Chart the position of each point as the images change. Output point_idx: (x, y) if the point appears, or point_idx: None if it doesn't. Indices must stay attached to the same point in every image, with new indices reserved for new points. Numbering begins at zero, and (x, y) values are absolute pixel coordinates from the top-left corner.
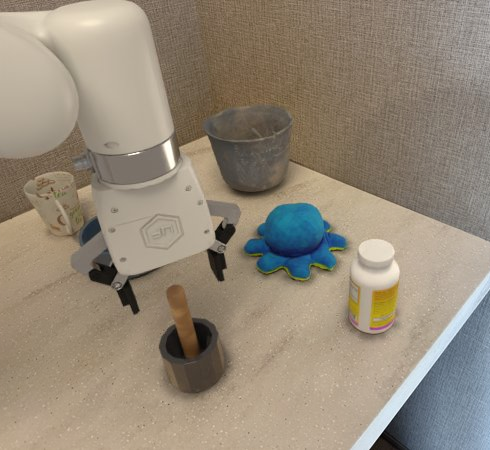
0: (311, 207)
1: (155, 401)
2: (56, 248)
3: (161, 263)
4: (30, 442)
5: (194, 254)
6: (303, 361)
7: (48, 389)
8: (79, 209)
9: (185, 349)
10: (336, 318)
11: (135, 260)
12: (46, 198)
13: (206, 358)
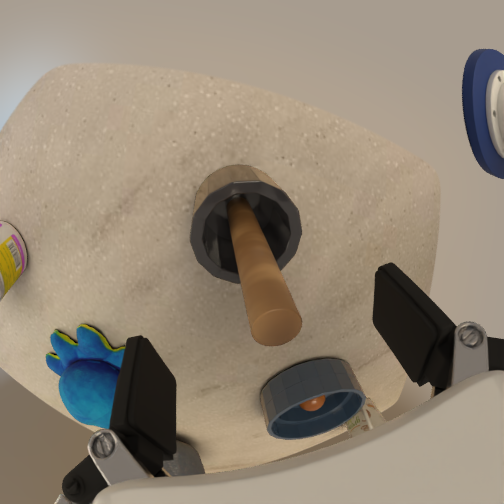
0: (73, 416)
1: (301, 167)
2: (372, 387)
3: (372, 456)
4: (425, 163)
5: (181, 486)
6: (79, 190)
7: (410, 224)
8: (349, 425)
9: (254, 220)
10: (41, 255)
11: (499, 448)
12: None
13: (215, 188)
